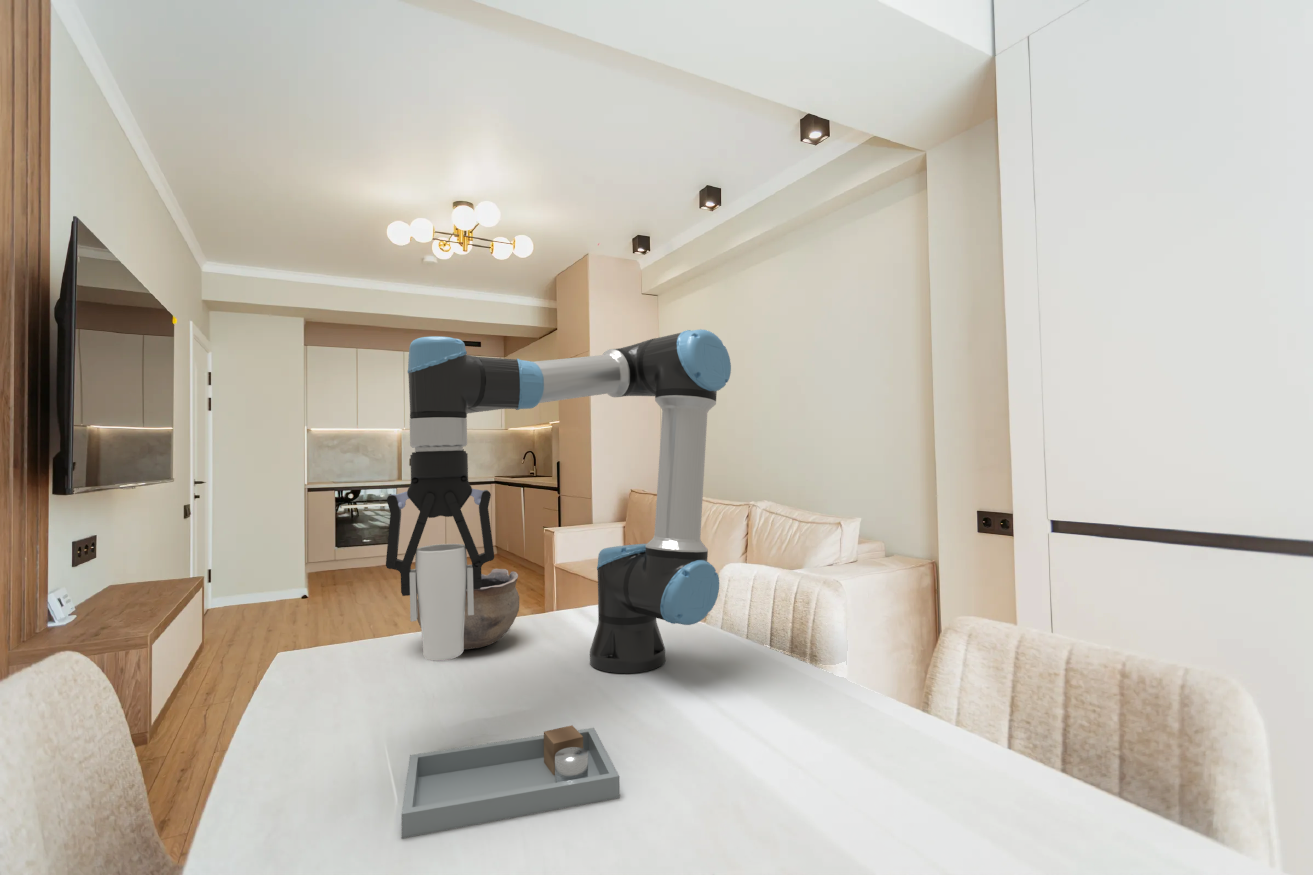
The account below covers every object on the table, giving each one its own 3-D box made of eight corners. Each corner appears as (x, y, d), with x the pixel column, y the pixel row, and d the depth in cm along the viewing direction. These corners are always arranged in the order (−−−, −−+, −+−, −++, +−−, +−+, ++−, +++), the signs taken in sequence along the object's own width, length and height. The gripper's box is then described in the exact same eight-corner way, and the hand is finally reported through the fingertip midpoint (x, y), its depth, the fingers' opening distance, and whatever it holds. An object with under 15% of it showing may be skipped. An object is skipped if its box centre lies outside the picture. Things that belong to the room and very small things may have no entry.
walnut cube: (572, 754, 85) (572, 725, 85) (583, 767, 81) (583, 736, 81) (543, 762, 83) (543, 731, 83) (553, 775, 79) (553, 743, 80)
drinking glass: (453, 665, 83) (450, 551, 83) (407, 663, 84) (404, 551, 84) (478, 648, 89) (475, 543, 90) (434, 647, 91) (432, 543, 91)
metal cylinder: (584, 777, 79) (584, 744, 79) (591, 793, 75) (590, 759, 75) (552, 782, 78) (552, 749, 78) (557, 799, 74) (557, 764, 74)
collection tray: (594, 749, 87) (594, 727, 88) (619, 802, 74) (619, 775, 74) (410, 779, 80) (410, 754, 80) (401, 843, 67) (401, 813, 67)
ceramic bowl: (538, 636, 144) (538, 570, 144) (482, 666, 123) (482, 589, 123) (457, 628, 151) (457, 565, 151) (391, 655, 130) (391, 583, 131)
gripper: (509, 448, 94) (512, 602, 93) (365, 451, 88) (368, 616, 87) (513, 447, 87) (517, 614, 86) (357, 451, 80) (361, 631, 80)
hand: (442, 615), depth 87 cm, fingers closed on drinking glass, 7 cm apart
